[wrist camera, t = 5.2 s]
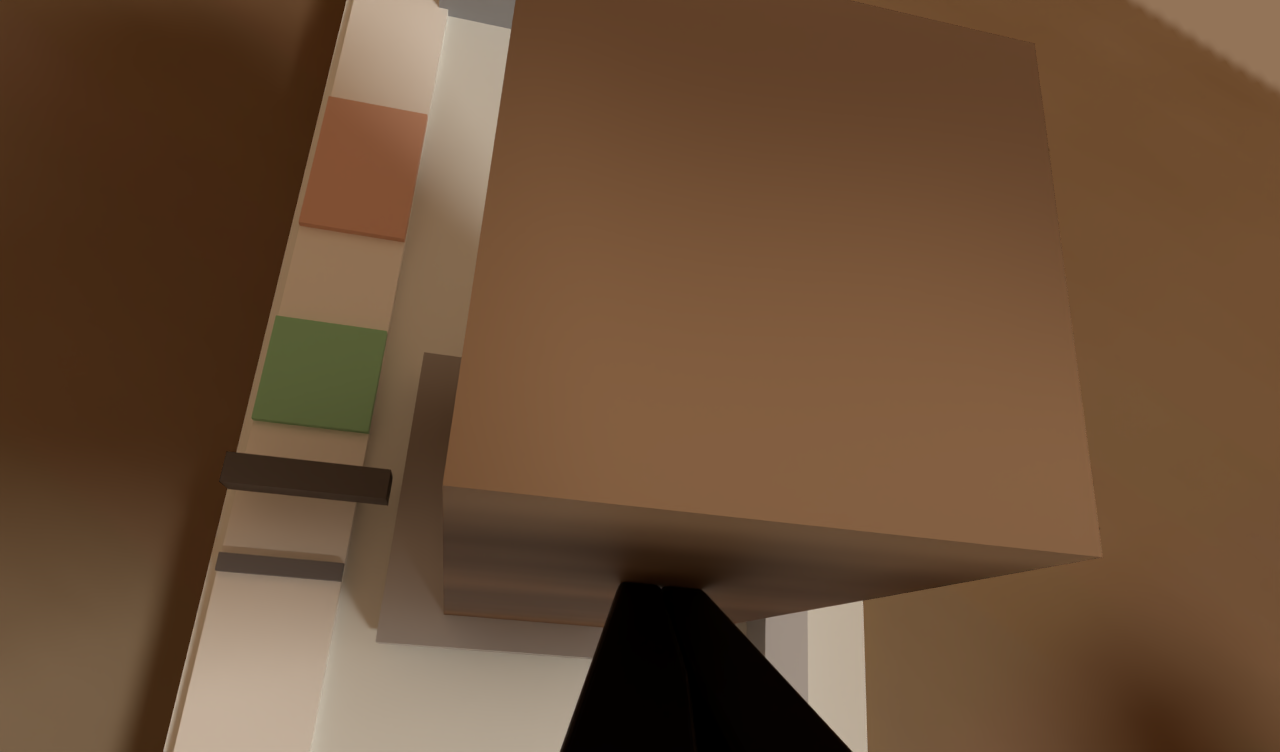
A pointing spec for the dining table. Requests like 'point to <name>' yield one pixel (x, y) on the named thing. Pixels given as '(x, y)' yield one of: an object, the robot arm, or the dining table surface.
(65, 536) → the dining table surface
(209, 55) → the dining table surface
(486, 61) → the gauge board
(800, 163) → the gauge slider
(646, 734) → the robot arm
